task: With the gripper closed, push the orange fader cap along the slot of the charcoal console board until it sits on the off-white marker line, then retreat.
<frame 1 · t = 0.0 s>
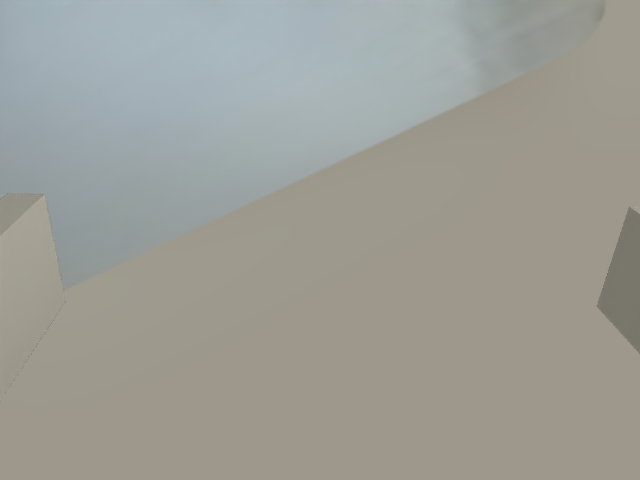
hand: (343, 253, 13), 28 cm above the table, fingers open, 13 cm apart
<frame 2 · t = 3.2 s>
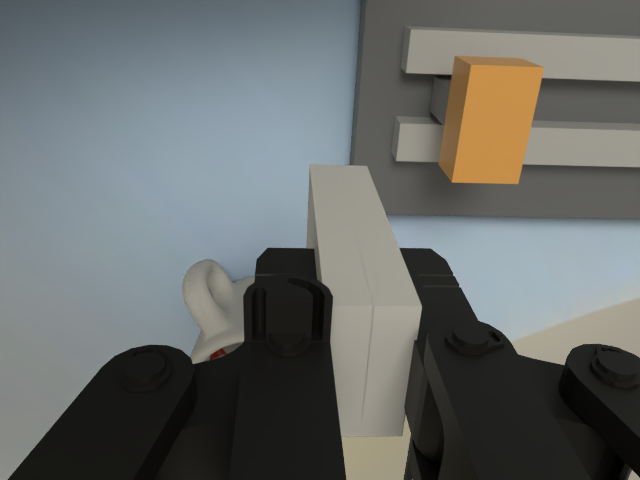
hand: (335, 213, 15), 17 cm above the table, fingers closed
cup: (250, 293, 36), on the table
fader knob: (472, 109, 26), point 5 cm above the table, slide at 0.0 cm
fader console: (615, 92, 31), on the table
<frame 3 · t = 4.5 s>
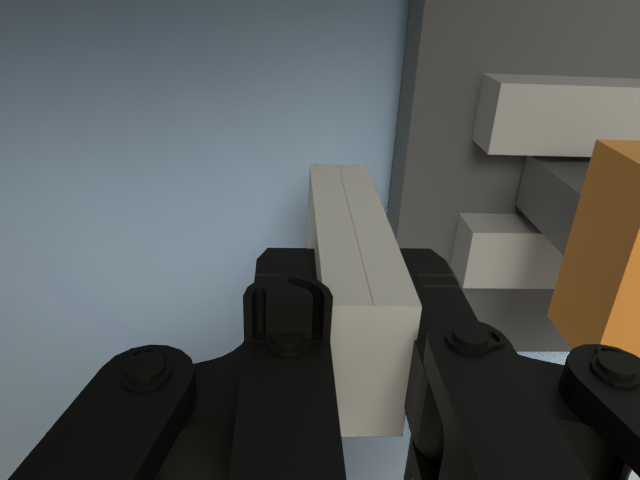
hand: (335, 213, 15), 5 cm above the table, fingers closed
fader knob: (609, 222, 15), point 5 cm above the table, slide at 0.0 cm
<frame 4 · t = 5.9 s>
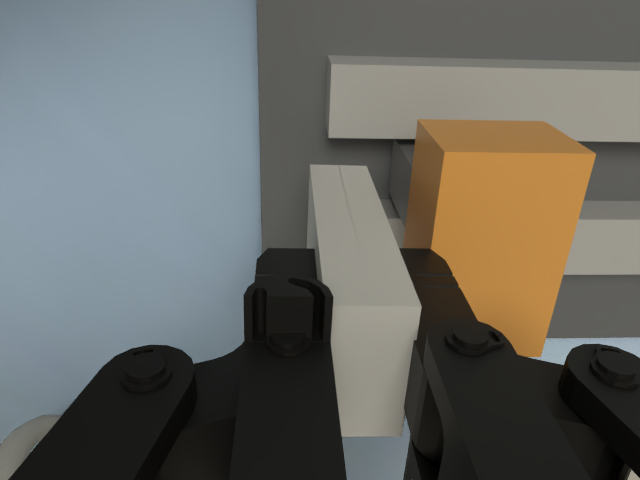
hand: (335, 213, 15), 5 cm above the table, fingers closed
cup: (137, 433, 25), on the table
fader knob: (456, 205, 14), point 5 cm above the table, slide at 0.3 cm, touching gripper
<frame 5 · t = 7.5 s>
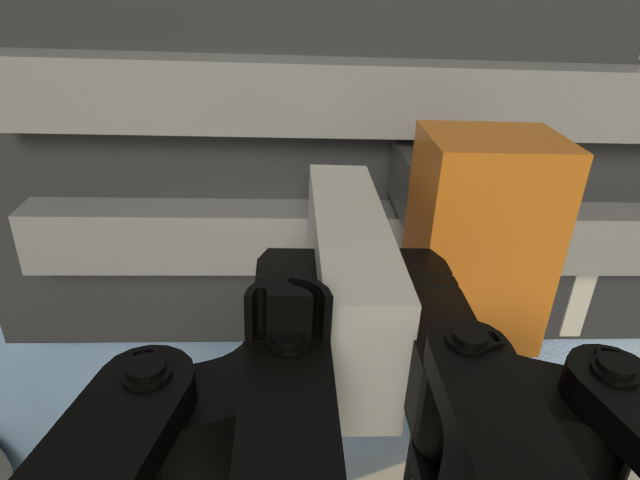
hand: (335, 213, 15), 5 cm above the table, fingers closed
fader knob: (454, 205, 15), point 5 cm above the table, slide at 9.6 cm, touching gripper
fader console: (424, 145, 19), on the table
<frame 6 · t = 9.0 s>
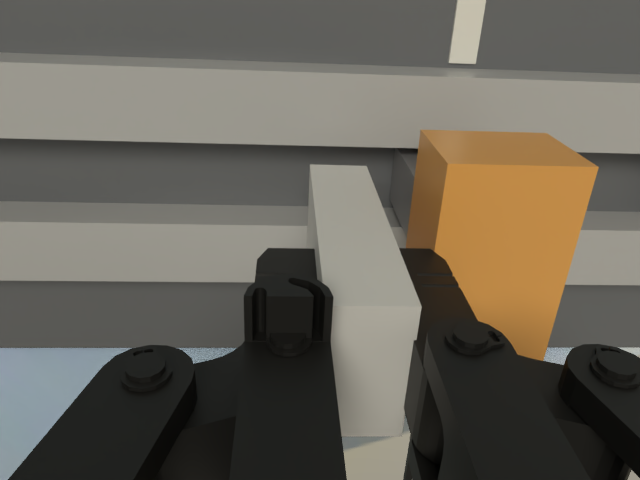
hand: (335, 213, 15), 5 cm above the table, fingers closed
fader knob: (457, 214, 14), point 5 cm above the table, slide at 15.5 cm, touching gripper
fader console: (259, 149, 19), on the table
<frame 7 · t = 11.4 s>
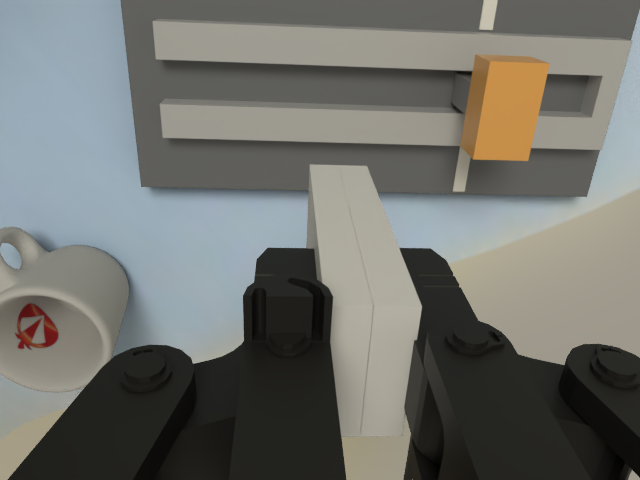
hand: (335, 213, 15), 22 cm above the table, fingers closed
cup: (75, 262, 40), on the table
fader knob: (489, 99, 31), point 5 cm above the table, slide at 15.8 cm
fader console: (374, 78, 35), on the table
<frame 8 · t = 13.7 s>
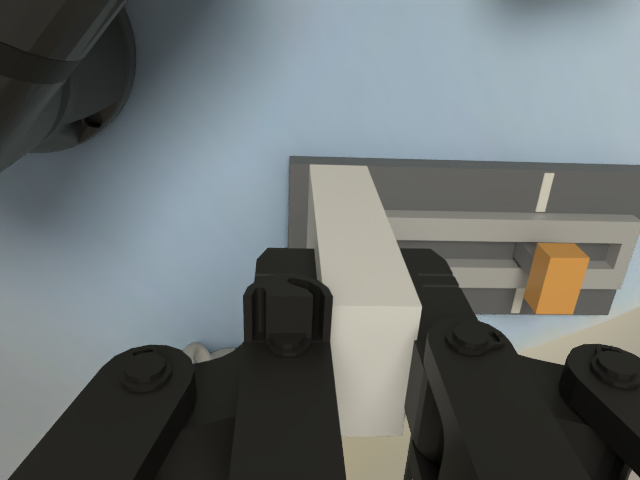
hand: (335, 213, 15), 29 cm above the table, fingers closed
cup: (224, 358, 54), on the table
fader knob: (544, 266, 44), point 5 cm above the table, slide at 15.8 cm
fader console: (456, 235, 48), on the table
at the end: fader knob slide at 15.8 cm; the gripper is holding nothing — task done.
